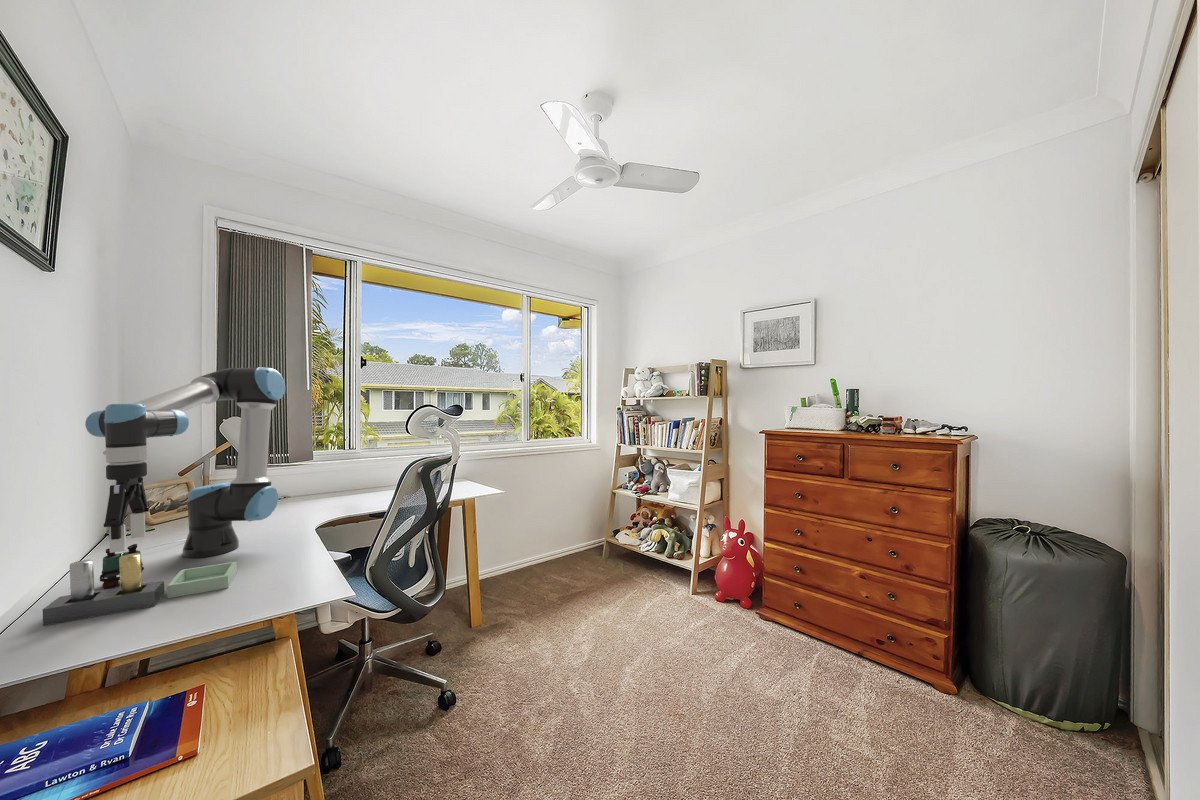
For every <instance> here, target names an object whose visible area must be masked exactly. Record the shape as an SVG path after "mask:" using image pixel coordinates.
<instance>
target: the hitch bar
mask: <svg viewBox="0 0 1200 800" xmlns="http://www.w3.org/2000/svg"><path fill="white" fill-rule="evenodd" d="M165 592H166V591H165V580H164V579H163V580H158V581H157V580H156V581H151V582H145V583H143V582H142V591H140V592H134V593H128V594H122V595H121V593H120V586H118V587H116V588H111V589H101V590H94V595H95V597H94V598H93V599H91V600H85V601H79V602H73V603H71V594H69V595H62V596H58V597H57V598H56V599H54V600H53V601H51V603H49V604H48V605H46V606H45V607H43V609H42V627H43V626H44V627H45V626H50V625H57V624H63V623H67V622H73V621H78V620H84V619H88V618H89V619H90V618H95V617H101V616H105V615H106V616H107V615H113V614H119V613H123V612H124V613H125V612H130V611H135V610H141V609H147V608H151V607H152V608H153V607H155V606H156V605H157V604H158V603H159V602H160V601H161V600H162V598H163V597H164V596H165V594H166V593H165Z"/></svg>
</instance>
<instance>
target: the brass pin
mask: <svg viewBox="0 0 1200 800" xmlns="http://www.w3.org/2000/svg"><path fill="white" fill-rule="evenodd" d="M141 560H142V553H141V554H140V553H134V554H128V555H124V556H123V555H122V556H121V557H120V558H119V566H120V575H119V577H120V580H119V587H120V593H121V595H122V594H128V593H134V592H140V591H142V584H143V581H142V580H143V579H142V578H143V577H142V576H143V575H142V572H143V571H142V572H141Z"/></svg>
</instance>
